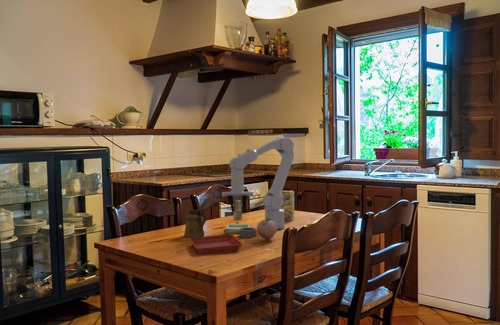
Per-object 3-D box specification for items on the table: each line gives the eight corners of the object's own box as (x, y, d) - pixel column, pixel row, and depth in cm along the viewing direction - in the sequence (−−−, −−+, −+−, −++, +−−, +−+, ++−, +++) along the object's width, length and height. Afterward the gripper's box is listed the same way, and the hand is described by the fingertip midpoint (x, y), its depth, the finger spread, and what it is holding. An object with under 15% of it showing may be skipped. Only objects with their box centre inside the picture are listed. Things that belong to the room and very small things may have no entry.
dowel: (243, 219, 214) (243, 200, 214) (240, 220, 210) (239, 201, 210) (235, 218, 216) (235, 200, 215) (232, 220, 212) (231, 201, 212)
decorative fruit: (260, 237, 199) (260, 214, 198) (278, 238, 196) (278, 215, 196) (254, 242, 190) (253, 218, 189) (273, 243, 187) (273, 219, 187)
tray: (249, 228, 220) (249, 223, 219) (249, 233, 208) (249, 229, 207) (226, 228, 219) (226, 224, 219) (225, 233, 207) (225, 229, 207)
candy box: (276, 220, 240) (275, 191, 239) (278, 218, 244) (278, 190, 243) (292, 221, 237) (292, 191, 236) (294, 219, 241) (294, 190, 240)
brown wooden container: (205, 239, 196) (204, 198, 195) (180, 236, 202) (179, 196, 201) (216, 235, 203) (215, 195, 202) (192, 233, 210) (191, 194, 209)
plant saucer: (196, 256, 170) (196, 247, 170) (189, 245, 187) (189, 237, 187) (243, 252, 175) (243, 243, 175) (232, 242, 192) (231, 234, 192)
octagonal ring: (255, 233, 206) (255, 227, 206) (256, 237, 199) (256, 230, 199) (239, 234, 206) (239, 227, 206) (239, 237, 199) (239, 230, 199)
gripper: (252, 181, 216) (253, 210, 217) (222, 182, 216) (222, 210, 217) (253, 183, 209) (253, 212, 210) (221, 183, 209) (221, 212, 210)
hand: (237, 211), depth 213 cm, fingers closed on dowel, 4 cm apart
